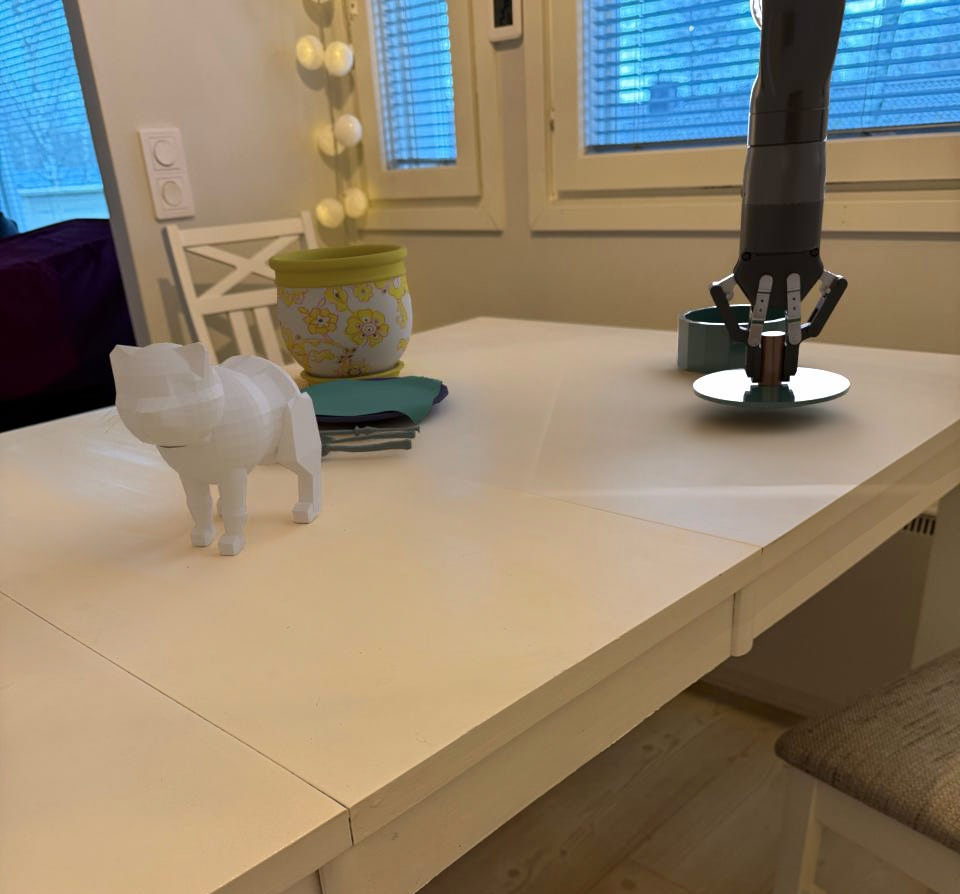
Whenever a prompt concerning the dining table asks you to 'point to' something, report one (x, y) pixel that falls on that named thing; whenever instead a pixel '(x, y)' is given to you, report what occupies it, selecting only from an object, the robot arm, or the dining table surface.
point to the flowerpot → (344, 310)
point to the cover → (771, 382)
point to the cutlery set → (373, 408)
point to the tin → (716, 338)
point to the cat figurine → (219, 428)
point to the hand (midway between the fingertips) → (770, 380)
